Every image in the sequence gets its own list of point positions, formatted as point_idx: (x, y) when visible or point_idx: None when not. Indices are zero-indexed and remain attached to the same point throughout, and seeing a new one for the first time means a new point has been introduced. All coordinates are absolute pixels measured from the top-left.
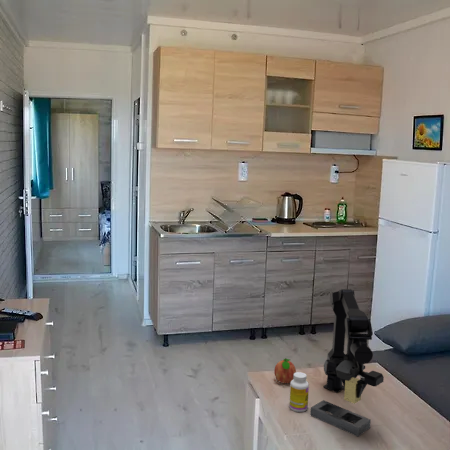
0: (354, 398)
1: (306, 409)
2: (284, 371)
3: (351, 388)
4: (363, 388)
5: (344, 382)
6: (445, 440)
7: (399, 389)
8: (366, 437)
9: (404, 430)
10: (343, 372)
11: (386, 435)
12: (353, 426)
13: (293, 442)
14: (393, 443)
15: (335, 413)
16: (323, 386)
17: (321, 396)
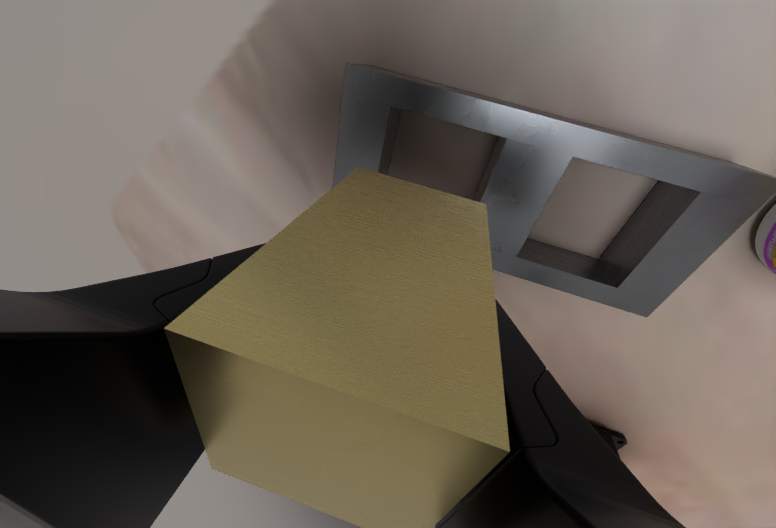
0: (344, 189)
1: (773, 211)
2: None
3: (352, 267)
4: None
5: (526, 397)
6: (125, 242)
7: None
8: (325, 89)
9: (238, 246)
10: None
11: (264, 170)
12: (386, 73)
13: None
14: (209, 113)
15: (545, 186)
16: (626, 440)
17: (634, 376)
